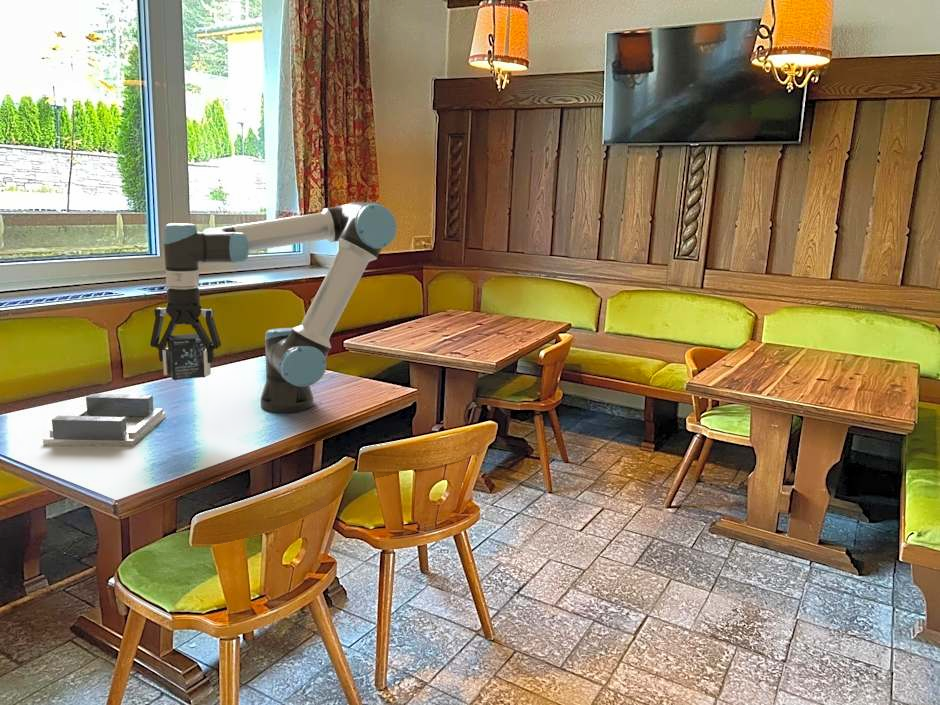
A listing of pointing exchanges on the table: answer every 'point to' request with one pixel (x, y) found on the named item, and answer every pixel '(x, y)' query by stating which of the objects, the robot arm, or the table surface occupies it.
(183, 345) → the box
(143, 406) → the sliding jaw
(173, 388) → the table surface
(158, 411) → the beige square tray
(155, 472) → the table surface
